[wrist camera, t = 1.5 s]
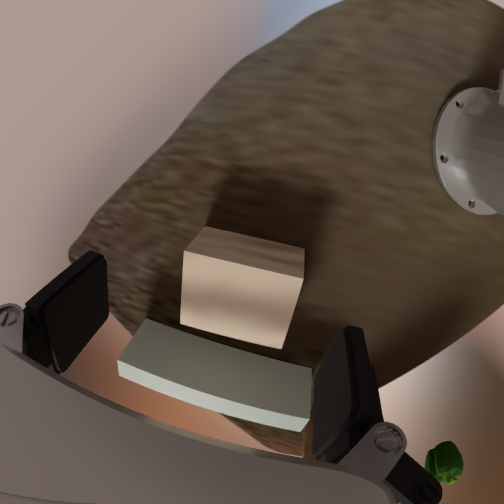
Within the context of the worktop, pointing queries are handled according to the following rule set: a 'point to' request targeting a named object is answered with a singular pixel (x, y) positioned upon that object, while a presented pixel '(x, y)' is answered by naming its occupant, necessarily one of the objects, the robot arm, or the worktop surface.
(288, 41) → the worktop surface
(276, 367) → the sage board
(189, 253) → the beech block
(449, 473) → the bell pepper
